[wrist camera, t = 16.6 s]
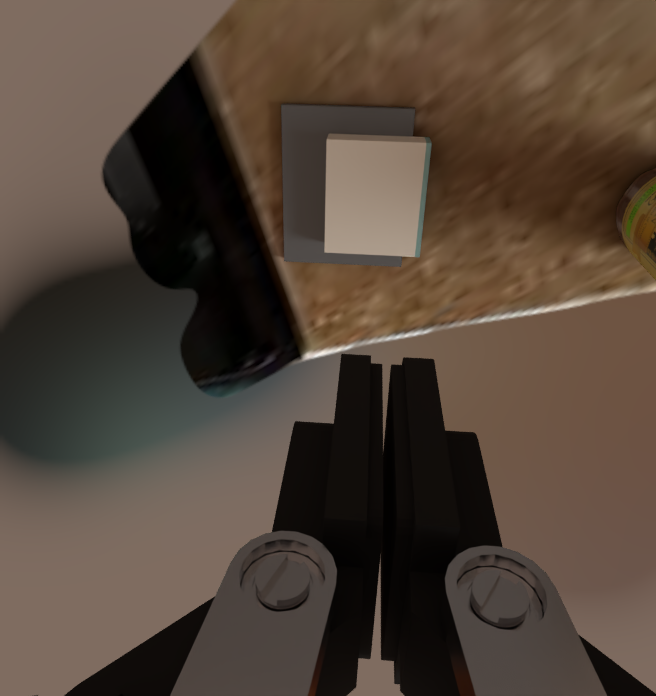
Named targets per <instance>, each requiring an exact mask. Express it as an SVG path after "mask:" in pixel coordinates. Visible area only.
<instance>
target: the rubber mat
mask: <svg viewBox="0 0 656 696" xmlns="http://www.w3.org/2000/svg"><path fill="white" fill-rule="evenodd" d="M414 118H415V108H404V107H374V106H343V105H312V104H282V105H281V119H282V171H283V223H284V261H290V262H311V263H332V264H354V265H375V266H396V267H401V263H402V256H387V255H366V254H345V253H324V248H325V196H326V143H327V137H328V134H356V135H383V136H411V137H413V129H414Z"/></svg>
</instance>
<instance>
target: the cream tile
mask: <svg viewBox="0 0 656 696" xmlns="http://www.w3.org/2000/svg"><path fill="white" fill-rule="evenodd" d="M431 145H432V143H431V140H430V137H411V136H383V135H356V134H328V137H327V143H326V196H325V248H324V253H345V254H366V255H387V256H408V257H420V248H421V239H422V229H423V220H424V211H425V201H426V192H427V183H428V173H429V164H430V154H431Z"/></svg>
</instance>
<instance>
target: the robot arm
mask: <svg viewBox="0 0 656 696" xmlns="http://www.w3.org/2000/svg"><path fill="white" fill-rule="evenodd" d="M388 394H389V395H388V405H387V417H386V428H385V439H384V450H383V413H382V412H383V405H382V404H383V400H382V364H372V363H371V356H369V355H352V354H342V355H341V363H340V373H339V382H338V391H337V400H336V409H335V410H336V411H335V419H334V424H330V423H314V422H298V421H296V422H295V423H294V427H293V431H292V436H291V441H290V446H289V451H288V456H287V461H286V466H285V470H284V476H283V481H282V485H281V491H280V495H279V500H278V505H277V510H276V515H275V520H274V524H273V530H272V532H271V533H266V534H263V535H261V536H259V537H257V538H255V539H252V540H250V541H249V542H248V543H247V544H246V545H244V546H243V547H242V548H241V549H240V550H239V551H238V552H237V554H236V555H235V557H234V558H233V560H232V561H231V563H230V565H229V567H228V569H227V572H226V574H225V576H224V578H223V580H222V583H221V585H220V587H219V589H218V592H217V594H216V596H215V597H213V598H212V599H210V600H208V601H207V602H205V603H204V604H202V605H201V606H199V607H198V608H196V609H195V610H193V611H191V612H190V613H188V614H187V615H186V616H184V617H182V618H181V619H179V620H178V621H176V622H175V623H173V624H171V625H170V626H168V627H167V628H165V629H163V630H162V631H160V632H159V633H157V634H156V635H154V636H153V637H151V638H149V639H148V640H146V641H145V642H143V643H142V644H140V645H139V646H137V647H136V648H134V649H132V650H131V651H129V652H128V653H126V654H125V655H123V656H122V657H120V658H119V659H117V660H115V661H114V662H112V663H111V664H109V665H108V666H106V667H104V668H103V669H101V670H100V671H98V672H97V673H95V674H94V675H92V676H91V677H89V678H87V679H86V680H84V681H83V682H81V683H80V684H78V685H77V686H76V687H74V688H73V689H72V690H71V691H69V692H68V693H67V694H66V695H65V696H347V695H348V694H349V693H350V692H351V691H352V690H353V689H354V688H356V682H357V669H358V658H365V659H370V657H371V648H372V637H373V627H374V616H375V606H376V595H377V585H378V574H379V564H380V554H381V660H388V661H394V683H395V684H400V691H401V692H402V693H403V694H404V695H405V696H656V694H655V693H654V692H653V691H651V690H650V689H649V688H647V687H646V686H645V685H643V684H642V683H641V682H639V681H638V680H637V679H636V678H634V677H633V676H632V675H631V674H629V673H628V672H626V671H625V670H624V669H622V668H621V667H620V666H619V665H617V664H616V663H615V662H614V661H612V660H611V659H609V658H608V657H607V656H606V655H604V654H603V653H602V652H601V651H599V650H598V649H597V648H595V647H594V646H592V645H591V644H590V643H589V642H587V641H586V640H585V639H584V638H582V637H581V636H580V635H578V633H577V631H576V629H575V627H574V625H573V623H572V621H571V619H570V617H569V614H568V612H567V610H566V608H565V606H564V604H563V602H562V600H561V598H560V596H559V593H558V591H557V589H556V587H555V586H554V584H553V583H552V581H551V580H550V578H549V577H548V575H547V574H546V572H544V571H543V570H542V569H541V568H540V567H539V566H538V565H537V564H536V563H535V562H534V561H532V560H530V559H529V558H527V557H525V556H523V555H522V554H520V553H518V552H516V551H512V550H509V549H506V548H503V547H502V543H501V538H500V534H499V529H498V525H497V521H496V516H495V512H494V508H493V503H492V499H491V495H490V490H489V486H488V481H487V477H486V473H485V468H484V464H483V459H482V455H481V451H480V447H479V442H478V439H477V435H476V434H475V433H473V432H457V431H445V427H444V421H443V415H442V408H441V402H440V395H439V389H438V383H437V376H436V369H435V363H434V360H433V359H423V358H403V362H402V365H391V372H390V382H389V393H388ZM34 696H38V695H34Z"/></svg>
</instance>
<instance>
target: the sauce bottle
mask: <svg viewBox="0 0 656 696" xmlns="http://www.w3.org/2000/svg"><path fill="white" fill-rule="evenodd" d="M616 224H617V228H618V232H619V235H620V238H621V240H622V242H623V243H624V244H625V245H626V247H627V248H628V250H629V251H630V252H631V254H632V255H633V256H634V257H635V258H636V259H637V260H638V261H639V262H640V264H641V265H642V266H643V267H644V268H645V269H646V270H647V271H648V272H649V274H650V275H651V276H652V277H653V278H654V279H655V280H656V168H654V169H652V170H650V171H647V172H645V173H643V174H642V175H640V176H639V177H638V178H637V179H636V180H635V181H634V182H633V183H632V184H631V186H630V187H629V188H628V190H627V191H626V192H625V194H624V195H623V197H622V198H621V200H620V201H619V203H618V206H617V209H616Z"/></svg>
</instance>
